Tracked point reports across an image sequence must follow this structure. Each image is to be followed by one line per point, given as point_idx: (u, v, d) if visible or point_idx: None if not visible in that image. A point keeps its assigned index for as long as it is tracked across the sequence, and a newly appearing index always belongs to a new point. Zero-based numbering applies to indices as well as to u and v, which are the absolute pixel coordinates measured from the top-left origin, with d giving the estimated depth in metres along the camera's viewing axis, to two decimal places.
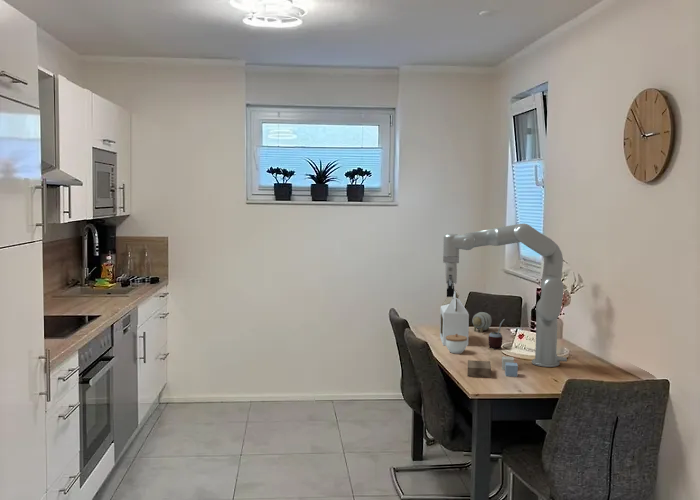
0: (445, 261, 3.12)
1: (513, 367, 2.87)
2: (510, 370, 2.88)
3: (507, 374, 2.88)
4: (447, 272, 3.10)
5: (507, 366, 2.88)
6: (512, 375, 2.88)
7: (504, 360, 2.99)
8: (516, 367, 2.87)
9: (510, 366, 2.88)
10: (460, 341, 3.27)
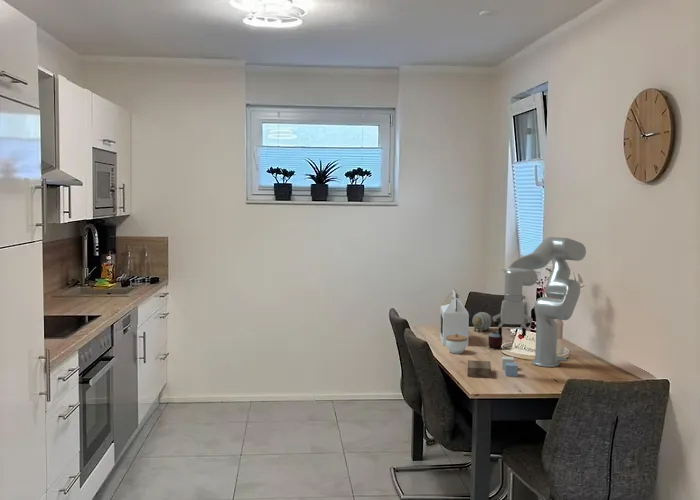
0: (519, 300, 2.85)
1: (513, 367, 2.87)
2: (510, 370, 2.88)
3: (507, 374, 2.88)
4: None
5: (507, 366, 2.88)
6: (512, 375, 2.88)
7: (504, 360, 2.99)
8: (516, 367, 2.87)
9: (510, 366, 2.88)
10: (460, 341, 3.27)
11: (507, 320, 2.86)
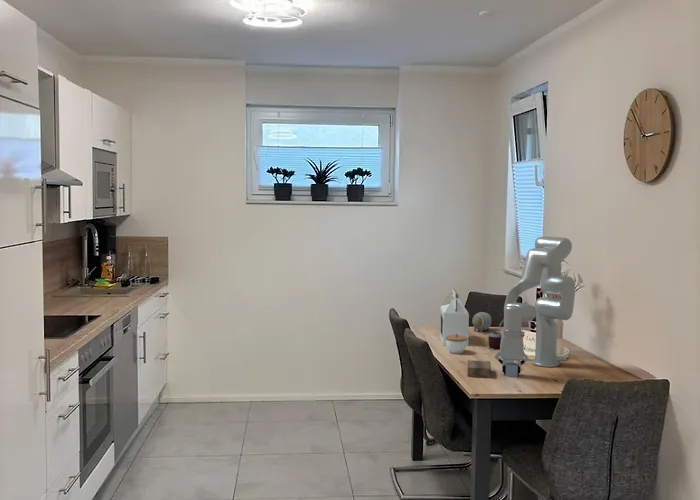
0: (518, 336, 2.86)
1: (513, 367, 2.87)
2: (510, 370, 2.88)
3: (507, 374, 2.88)
4: (523, 347, 2.87)
5: (507, 366, 2.88)
6: (512, 375, 2.88)
7: None
8: (516, 367, 2.87)
9: (510, 366, 2.88)
10: (460, 341, 3.27)
11: (506, 356, 2.88)
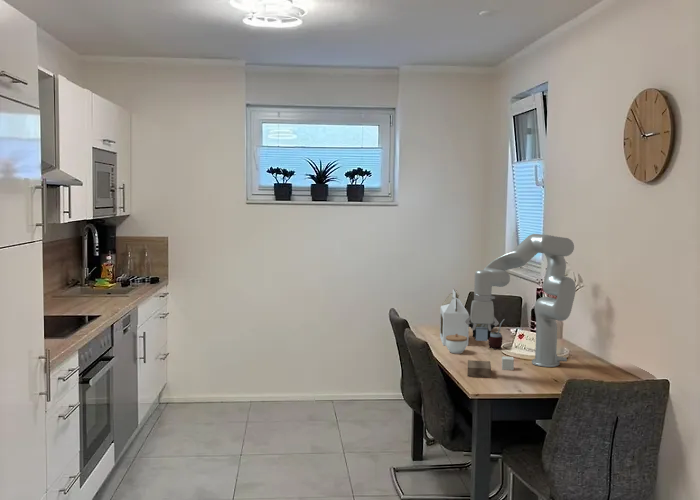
0: (489, 300, 2.87)
1: (483, 331, 2.88)
2: (480, 334, 2.89)
3: (477, 338, 2.89)
4: (493, 311, 2.88)
5: (477, 330, 2.89)
6: (482, 339, 2.89)
7: (504, 360, 2.99)
8: (486, 331, 2.88)
9: (480, 330, 2.89)
10: (460, 341, 3.27)
11: (476, 320, 2.89)
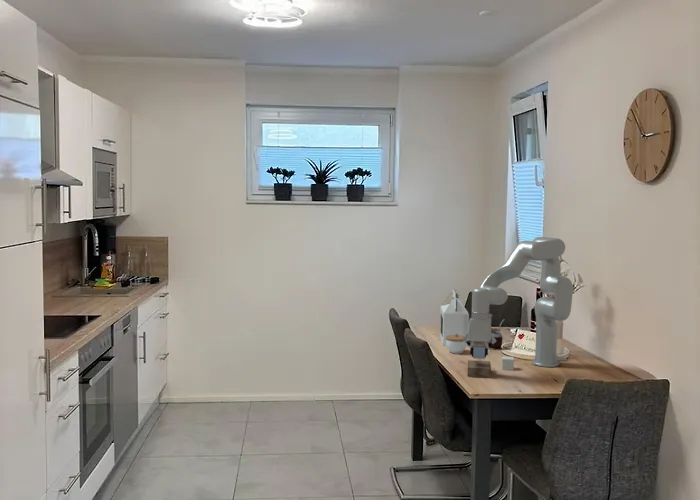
0: (486, 318, 2.88)
1: (480, 349, 2.89)
2: (478, 352, 2.90)
3: (474, 356, 2.90)
4: (490, 329, 2.89)
5: (475, 348, 2.90)
6: (479, 357, 2.90)
7: (504, 360, 2.99)
8: (483, 349, 2.89)
9: (477, 348, 2.89)
10: (460, 341, 3.27)
11: (474, 338, 2.90)
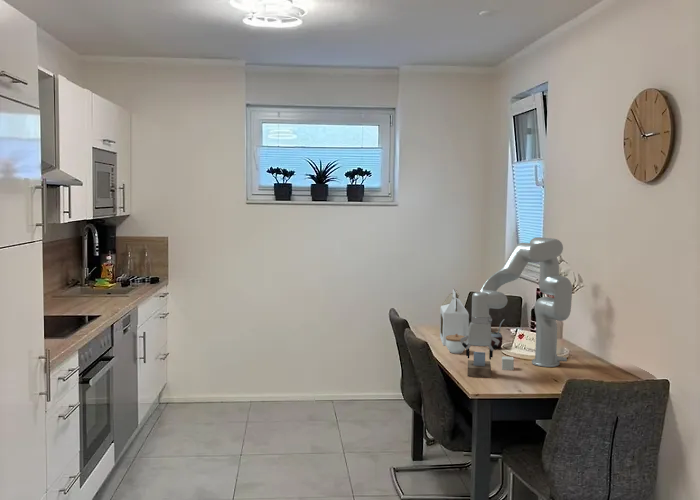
0: (486, 322, 2.88)
1: (481, 356, 2.90)
2: (478, 359, 2.90)
3: (475, 363, 2.90)
4: (490, 333, 2.89)
5: (475, 355, 2.90)
6: (480, 364, 2.90)
7: (504, 360, 2.99)
8: (484, 356, 2.89)
9: (478, 355, 2.90)
10: (460, 341, 3.27)
11: (474, 342, 2.90)
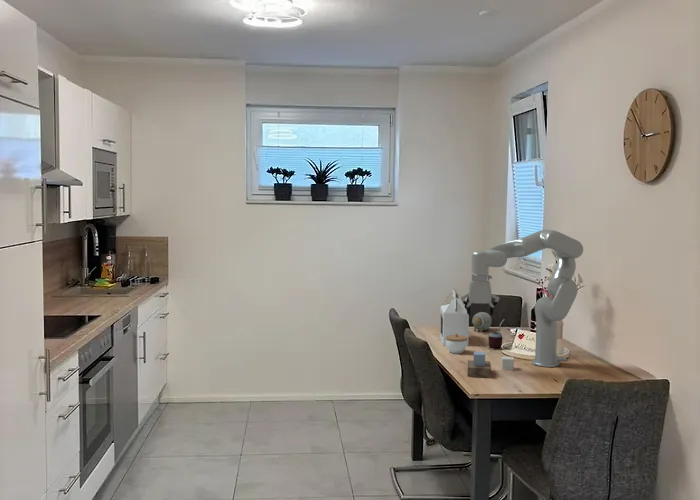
0: (486, 280, 2.96)
1: (481, 356, 2.90)
2: (478, 359, 2.90)
3: (475, 363, 2.90)
4: (490, 291, 2.97)
5: (475, 355, 2.90)
6: (480, 364, 2.90)
7: (504, 360, 2.99)
8: (484, 356, 2.89)
9: (478, 355, 2.90)
10: (460, 341, 3.27)
11: (475, 299, 2.98)
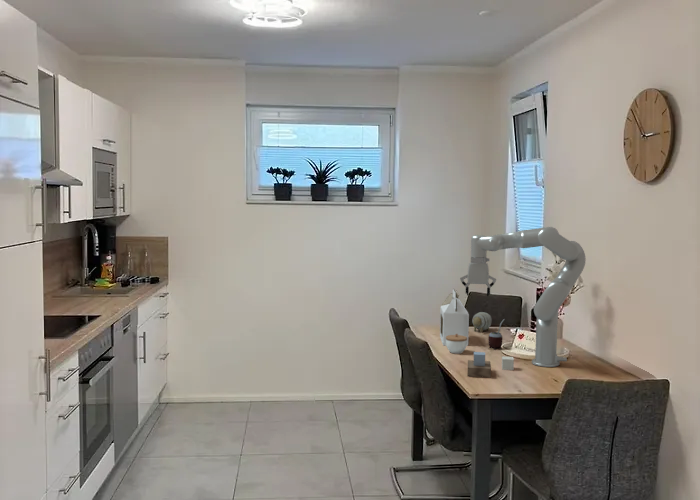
0: (484, 262, 3.17)
1: (481, 356, 2.90)
2: (478, 359, 2.90)
3: (475, 363, 2.90)
4: (488, 272, 3.18)
5: (475, 355, 2.90)
6: (480, 364, 2.90)
7: (504, 360, 2.99)
8: (484, 356, 2.89)
9: (478, 355, 2.90)
10: (460, 341, 3.27)
11: (473, 280, 3.19)
